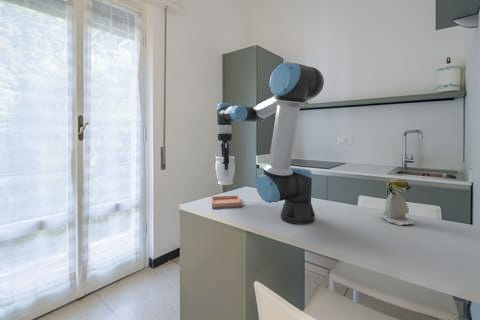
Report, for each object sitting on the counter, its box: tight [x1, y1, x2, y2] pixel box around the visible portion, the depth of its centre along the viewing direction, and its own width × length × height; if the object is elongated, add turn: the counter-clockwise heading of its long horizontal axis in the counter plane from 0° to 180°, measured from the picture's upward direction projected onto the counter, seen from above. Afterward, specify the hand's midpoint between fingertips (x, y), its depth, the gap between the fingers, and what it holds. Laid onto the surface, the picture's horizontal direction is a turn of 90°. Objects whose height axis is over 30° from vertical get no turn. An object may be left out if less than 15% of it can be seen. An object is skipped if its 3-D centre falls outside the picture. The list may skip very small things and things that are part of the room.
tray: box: [210, 194, 243, 210], centre depth 137 cm, size 15×16×2 cm
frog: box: [380, 178, 416, 227], centre depth 108 cm, size 12×13×18 cm
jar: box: [214, 155, 236, 186], centre depth 135 cm, size 11×10×15 cm
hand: (225, 174), depth 135 cm, fingers closed on jar, 10 cm apart
